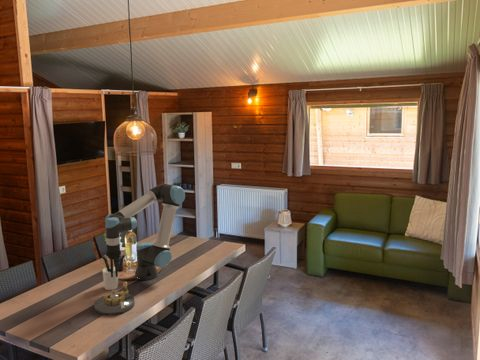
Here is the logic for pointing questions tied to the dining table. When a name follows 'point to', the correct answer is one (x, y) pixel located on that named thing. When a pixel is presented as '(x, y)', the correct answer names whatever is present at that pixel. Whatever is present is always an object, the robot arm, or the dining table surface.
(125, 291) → the brass lugged wrench
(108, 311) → the bearing cap
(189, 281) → the dining table surface
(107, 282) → the candle holder
